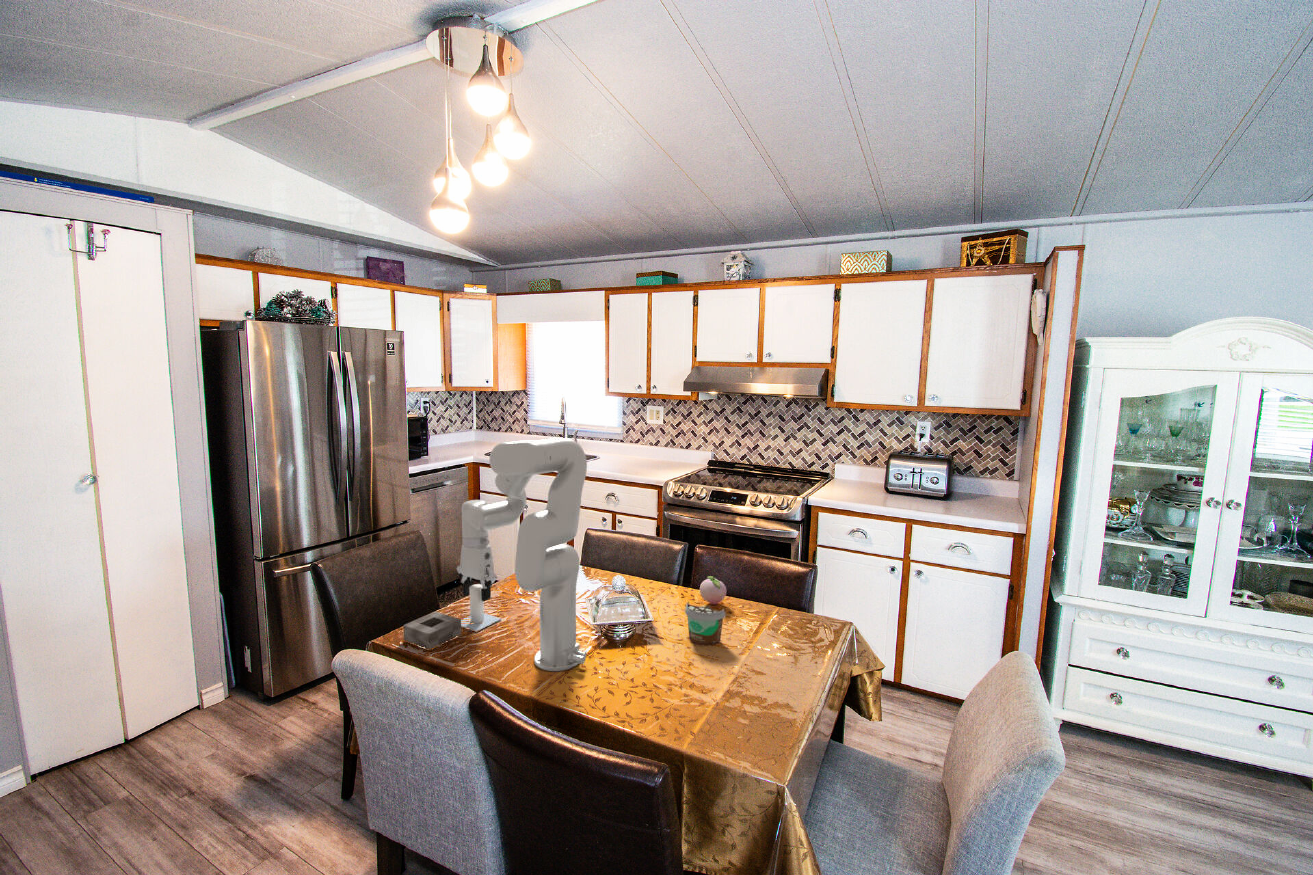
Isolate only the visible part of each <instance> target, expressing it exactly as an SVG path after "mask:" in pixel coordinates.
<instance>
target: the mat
mask: <svg viewBox="0 0 1313 875" xmlns="http://www.w3.org/2000/svg"><path fill="white" fill-rule="evenodd" d="M468 617H470V615H468V616H467V618H466V617H464V618H463V619H470V618H468ZM499 620H501V621H502V618H501V617H497V616H494V615H491V614H487V613H485V612H484V622H482V624H481V623H478V624H461V626H462V627H464V628H469V629H470V630H474V631H476V632H477V631H478V630H481V629H482V628H485V627H486V626H489V625H491V624H492V623H495V622H497V621H499ZM461 621H468V620H462V619H461ZM469 621H470V620H469ZM499 622H500V621H499ZM461 623H471V622H461ZM497 623H498V622H497ZM495 624H496V623H495ZM491 626H492V625H491ZM489 627H490V626H489ZM485 629H486V628H485ZM481 631H482V630H481Z"/></svg>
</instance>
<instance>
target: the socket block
mask: <svg viewBox="0 0 1313 875" xmlns="http://www.w3.org/2000/svg"><path fill="white" fill-rule="evenodd" d="M461 620H462V619H461V618H457V617H455V616H451V615H448V614H445V613H441V612H438V611H433V612H431V613H429V614H426V615H424V616H421V617H419V618H417V619H415V620H412V621H410V622H408V623H405V624H403V625H402V626H403V641H404V640H405V641H408V642H410V643H414V644H416V645H419V646H421V647H425V648H426V649H432V648H434V647H436V646H438V645H441V644H442V643H445V642H446V641H449V640H450V639H453V638H455V637H456V636H459V635H460V634H461V635H462V628H461Z"/></svg>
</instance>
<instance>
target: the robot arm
mask: <svg viewBox="0 0 1313 875" xmlns="http://www.w3.org/2000/svg"><path fill="white" fill-rule="evenodd" d="M489 466H490V468H491V470H492V471H493V472H494V473H495V474H497V475H496V476H495V480H494V483H495V486H496V488H497V489H498V490H499V492H501V493H502V494H503V495H505V496H507V497H506V499H504V500H502V501H498V502H491V503H487V502H486V501H485V500H481V499H471V500H467V501H464V502H463V503H462V505H461V526H462V528H461V531H462V533H461V534H462V536H461V537H462V538H461V539H462V545H461V549H460V561H459V562H460V564H459V565H458V566H457V567H456V571H457V573H458V575H459V578H460V579H461V580H460V582H461V584H462V593H463V594H462V596H463V597H466V596H470V592H469V587H470V586H472V585H473V580H472V579H475V580H479V582H480V584H481V585H482V587H483V588H482V589H481V599H482V601H484V602H485V601H488V600H490V599H491V598H492V591H491V590H492V588H491V587H492V586H493V585H494V583H495V581H496V580H497V578H498V576H497V574H496V573H495V570H494V569H495V568H494V567H495V565H494V557H493V552H492V546H491V545H490V539H489V531H491V530H496V529H499V528H504V527H507V526H510V525H513V524H515V523H516V522H517V520H518V519H519V518H520V517H521V515H522V513H523V512H524V510H525V509H526V506H527V493H526V487H527V486H528V484H529V482H530V480H531V479H532V477H533V476H536V475H540V474H547V473H552V472H557V474H556V476H555V478H554V479H553V480H552V482H551V484H550V486H549V489H548V495H547V501H546V502H547V503H546V507H545V508H544V509H543V510H539V511H536V512H532V513H531V514H528V515H526V516H525V517H524V518H523V519H522V521H521V522H520V524H519V526H518V527H519V528H518V532H517V540H516V542H517V543H516V550H515V551H516V553H515V564H514V573H515V579H516V582H517V584H518V586H519V588H521V589H522V590H523V591H526V592H530V593H531V592H536V591H540V595H539V650H538V651H537V652H536V653H535V655H534V658H533V659H534V664H535V666H536V667H537V668H539V669H541V670H543V671H547V672H549V671H550V672H561V671H566V670H567V671H568V670H570V669H573V668H574V667H576V666H578V665H579V664H581V665H583V664H585V661H586V657H587V652H585V651H581V650H580V643H577V622H576V621H577V612H576V610H577V608H576V607H577V582H578V578H579V576H578V575H579V571H580V565H581V564H580V563H581V562H580V556H579V554H578V552H577V550H576V549H575V548H574V547H573V546H572V545H569V544H566V543H568V542H570V541H572V540H574V539H575V538H576V536H577V533H578V529H579V521H580V515H581V514H580V513H581V512H580V511H581V503H582V495H583V494H582V493H583V488H584V485H585V484H584V483H585V482H586V481H585V480H586V476H587V470H588V461H587V456H586V453H585V451H584V449H583V448H582V446H581V445H580V444H579V442H578V441H576V440H573V439H571V438H565V437H560V438H559V437H557V438H555V437H554V438H547V439H539V440H538V439H537V440H517V441H516V440H514V441H506V442H500V443H498V444H496V445H495V446H494V447H493V449H491V451H490V454H489Z"/></svg>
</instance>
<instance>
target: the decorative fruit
mask: <svg viewBox="0 0 1313 875" xmlns="http://www.w3.org/2000/svg"><path fill="white" fill-rule="evenodd" d="M699 586H700V587H699V594H700V596H701V598H702V599H703V600H704V601H706V602H707V603H709V604H711V605H712V604H714V605H718V604H719V603H721V602H722V601H723V600H724V599H725V597H726V595H727V587H726V585H725V584H724V583H723V582H722V581H720V580H718V579H717V578H716V577H715V576H714V575H713V576H711V575H710V576H709V575H708V576H707V578H706V579H705V580H703V581H702V582H701V584H700V585H699Z"/></svg>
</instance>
